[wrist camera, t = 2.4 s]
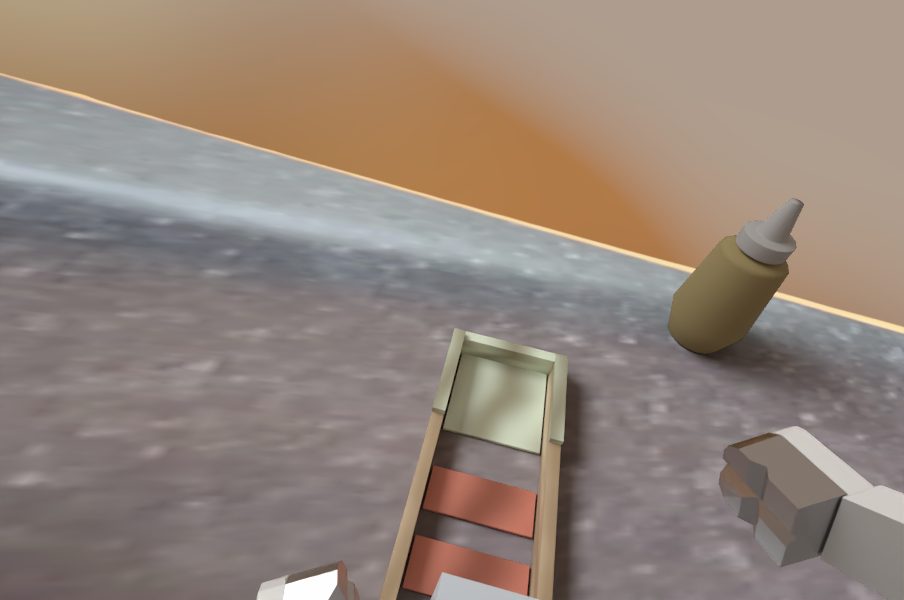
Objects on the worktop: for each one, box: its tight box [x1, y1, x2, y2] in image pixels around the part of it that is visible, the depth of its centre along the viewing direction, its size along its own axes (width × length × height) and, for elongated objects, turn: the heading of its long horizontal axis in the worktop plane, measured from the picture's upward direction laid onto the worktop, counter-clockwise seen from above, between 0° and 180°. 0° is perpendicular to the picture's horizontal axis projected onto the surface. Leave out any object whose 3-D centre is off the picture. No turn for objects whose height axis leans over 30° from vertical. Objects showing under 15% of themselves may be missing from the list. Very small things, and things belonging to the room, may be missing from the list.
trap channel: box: [379, 328, 568, 600], centre depth 35 cm, size 11×32×3 cm, turn 168°
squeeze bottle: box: [668, 198, 804, 354], centre depth 47 cm, size 8×8×18 cm
